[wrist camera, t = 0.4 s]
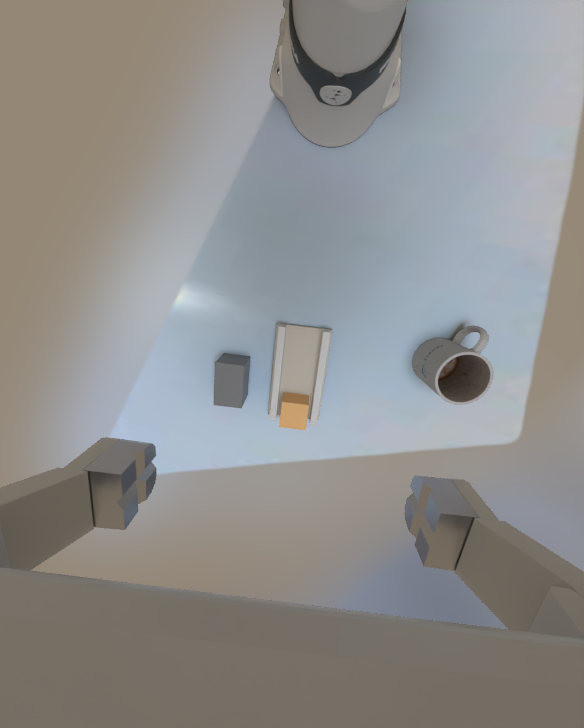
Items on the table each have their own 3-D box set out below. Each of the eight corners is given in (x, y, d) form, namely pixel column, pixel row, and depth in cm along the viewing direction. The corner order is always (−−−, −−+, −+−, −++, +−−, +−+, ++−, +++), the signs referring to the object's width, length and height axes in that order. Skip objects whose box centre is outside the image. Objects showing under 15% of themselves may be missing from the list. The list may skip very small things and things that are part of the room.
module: (224, 353, 56) (215, 362, 50) (250, 356, 56) (244, 365, 50) (222, 391, 58) (213, 404, 52) (247, 395, 58) (241, 408, 52)
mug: (433, 390, 56) (460, 415, 46) (402, 362, 55) (423, 381, 45) (486, 343, 53) (526, 359, 43) (454, 312, 51) (488, 321, 42)
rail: (277, 322, 53) (274, 328, 48) (331, 329, 53) (334, 335, 48) (268, 411, 59) (265, 425, 53) (318, 417, 59) (319, 431, 53)
